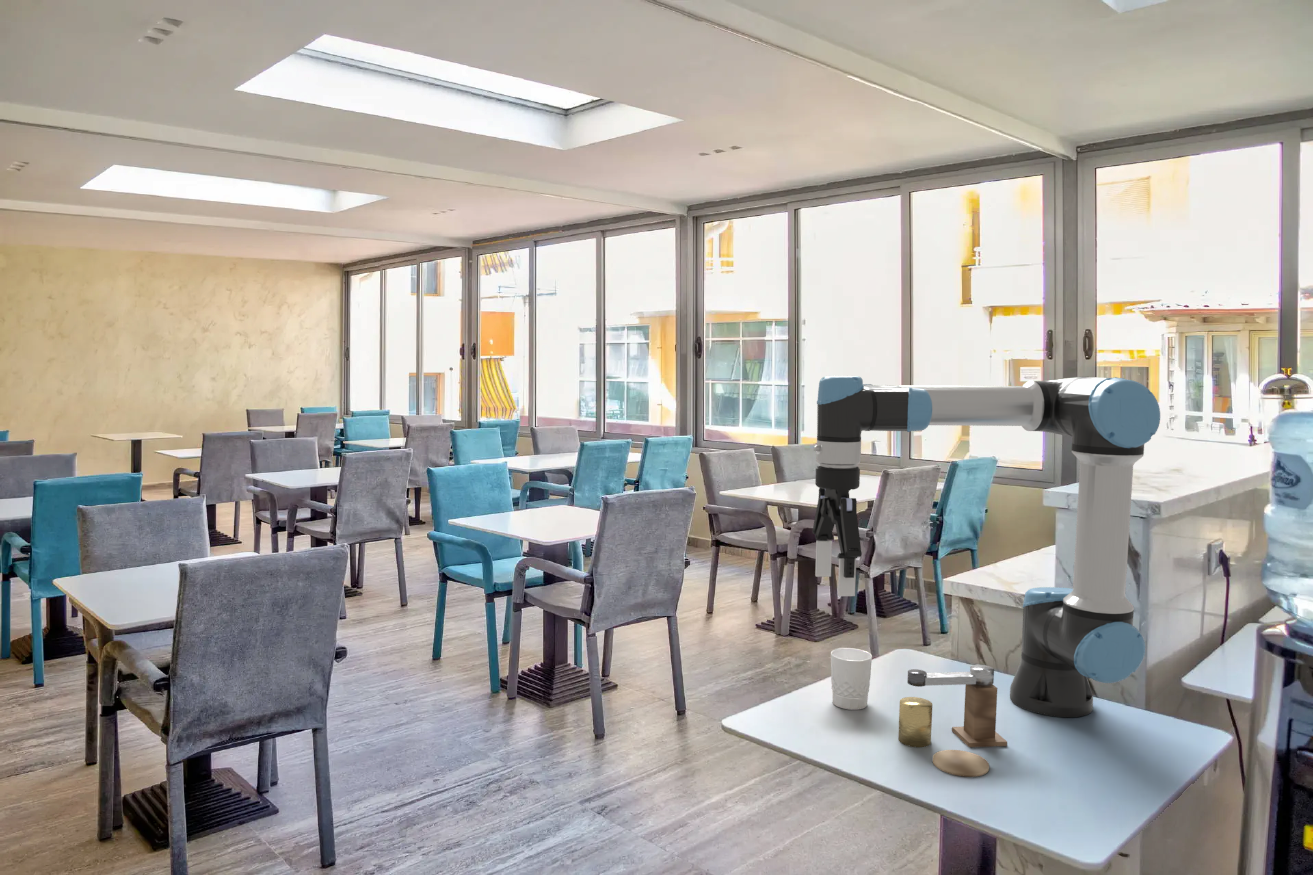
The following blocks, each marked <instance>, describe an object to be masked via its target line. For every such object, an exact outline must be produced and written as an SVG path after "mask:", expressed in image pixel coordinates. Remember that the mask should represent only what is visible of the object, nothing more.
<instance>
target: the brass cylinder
mask: <svg viewBox="0 0 1313 875" xmlns="http://www.w3.org/2000/svg"><path fill="white" fill-rule="evenodd" d="M898 712H899V713H898V736H897V737H898V742H899V743H900V744H902V745H904V746H907V747H911V748H915V749H916V748H917V749H918V748H919V749H920V748H926V747H929V746H930V745H932V730H933V729H932V728H933V726H932V725H933V724H932V722H933V702H932V701H930V700H928V699H926V698H922V697H918V696H917V697H915V696H906V697H903V698H901V699H899V710H898Z"/></svg>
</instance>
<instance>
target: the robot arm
mask: <svg viewBox="0 0 1313 875" xmlns="http://www.w3.org/2000/svg"><path fill="white" fill-rule="evenodd" d="M816 405H817V410H816V411H817V416H816V420H817V422H816V425H817V426H816V427H817V429H816V430H817V432H816V434H817V435H816V445H815V446H813V451H815V452H816V460H815V461H816V462H817V466H816V467H815V481H814V482H815V486H816V487H817V488H818V500H817V505H816V509H815V510H816V511H815V516H814V521H813V522H814V523H813V526H812V534H813V535H814V538H815V540H816V542H815V543H816V544H815V568H814V569H815V571H814V573H815V574H814V575H815V577H817V578H822V577H823V578H825V577H827V578H828V577H830V578H831V577H832V556H833V541H832V540H834V535H833V531H834V528H835V529H836V530H835V531H836V534H837V541H838V544H839V545H838V546H839V550H840V552H839V553H838V554H837V557H836V558H837V559H838V577H837V580H838V582H837V584H838V586H837V596H838V597H856V580H857V579H856V576H857V559H858V558H860V557H862V554H863V552H862V546H861V539H860V538H861V537H860V530H859V521H858V513H857V512H858V510H857V507H858V506H857V502H858V500H857V498H855V497H850V491H851V490H856V489H858V488H859V487H860V484H861V482H860V481H861V480H860V477H861V475H860V474H861V469H860V467H859V466H858V465H859V464H860V463H861V460H862V432H863V431H864V432H871V431H874V432H876V431H877V432H881V431H882V432H884V431H885V432H907V433H911V432H917V431H918V432H920V431H925V430H926V429H927V428H928V427H929V426H959V427H960V426H965V427H966V426H967V427H968V426H972V427H974V426H975V427H976V426H977V427H981V426H982V427H985V426H986V427H987V426H989V427H990V426H992V427H993V426H994V427H998V426H999V427H1000V426H1001V427H1013V426H1014V427H1022V428H1023V429H1024V430H1025V431H1027V432H1043V433H1044V432H1045V433H1050V434H1054V435H1055V434H1056V435H1062V436H1065V437H1070V438H1071V453H1072V454H1073V455H1074V456H1075V457H1076V459H1078V461H1079V475H1078V476H1079V477H1078V490H1077V491H1078V496H1077V508H1076V509H1077V511H1076V527H1075V528H1076V529H1075V530H1076V531H1075V545H1074V548H1075V549H1074V562H1073V563H1074V564H1073V577H1072V578H1073V579H1072V580H1073V581H1072V588H1069V587H1058V586H1056V587H1055V586H1052V587H1051V586H1049V587H1048V586H1043V587H1042V586H1041V587H1033V588H1029V589H1028V590H1027V591H1026V592H1025V594H1024V598H1023V604H1022V608H1023V610H1022V628H1021V630H1022V633H1021V634H1022V635H1021V636H1022V637H1021V655H1020V662H1019V665H1018V666H1017V670H1016V672H1015V674H1014V677H1013V679H1012V681H1011V684H1010V687H1009V699H1010V701H1011V702H1012V703H1013V704H1014V705H1016V706H1017V707H1019V708H1021V709H1023V710H1026V711H1029V712H1033V713H1035V714H1040V715H1043V716H1049V717H1057V718H1079V717H1084V716H1088V715H1089V714H1091V713H1092V711H1094V710H1093V708H1094V697H1093V693H1092V689H1091V686H1090V683H1089V679H1091V680H1094V681H1096V682H1099V683H1102V684H1115V683H1119V682H1122V681H1124V680H1126V679H1128V678H1130V676H1131V675H1132V673H1135V672H1136V671H1137V670H1138V669H1139V668H1140V666H1142V665H1141V664H1142V663H1143V661H1144V658H1145V654H1146V643H1145V639H1144V636H1143V635H1142V634H1141V632H1140V631H1139V630H1138V628H1137V627H1135V626H1134V612H1135V611H1134V610H1135V608H1134V605H1133V604H1132V602H1130V601H1129V600H1128V599H1127V598H1126V590H1127V571H1128V570H1127V569H1128V554H1129V540H1130V525H1131V523H1130V521H1131V511H1132V510H1131V507H1132V494H1133V493H1132V490H1133V476H1134V475H1133V474H1134V465H1135V463H1137V462H1138V461H1139V460H1140V459H1142V458H1143V457H1144V456H1145V455H1144V453H1145V444H1146V443H1148V442H1149V441H1151V439H1152V437H1153V436H1154V435H1156V433H1157V432H1158V429H1159V428H1160V427H1159V426H1160V424H1161V423H1160V422H1161V410H1160V409H1161V408H1160V405H1159V402H1158V399H1157V398H1156V396H1155V394H1154V393H1153V392H1151V390H1150V389H1149V388H1148V387H1147V386H1145V385H1144V384H1142V383H1141V382H1138V381H1135V380H1132V379H1127V378H1124V377H1117V376H1114V377H1100V376H1099V377H1098V376H1097V377H1095V376H1094V377H1093V376H1074V377H1065V378H1059V379H1050V380H1048V379H1047V380H1027V381H1025V382H1024V383H1023V384H1022V385H919V384H918V385H912V384H911V385H910V384H909V385H900V384H899V385H888V384H885V385H883V384H881V385H880V384H879V385H878V384H877V385H876V384H874V385H873V384H871V383H865V384H864V381H863V378H862V377H861V376H855V375H847V376H846V375H825V376H823V377H822V378H821V379H820V380H819V383H818V390H817V401H816Z"/></svg>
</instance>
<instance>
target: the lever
mask: <svg viewBox="0 0 1313 875" xmlns="http://www.w3.org/2000/svg"><path fill="white" fill-rule="evenodd" d="M969 667H970V669H969V671H953V672H951V671H950V672H949V671H947V672H945V671H944V672H926V671H925V670H922V669H917V668H915V669H911V668H910V669H909V670H907V684H908V685H910V686H912V687H916V688H917V687H920V688H922V687H926V686H952V685H953V686H958V685H959V686H961V685H966V684H977V685H985V686H987V685H992V684H993V685H994V680H995V679H994V676H995V668H993V667H992V666H989V665H986V664H972V665H970V666H969Z"/></svg>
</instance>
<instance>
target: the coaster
mask: <svg viewBox="0 0 1313 875" xmlns="http://www.w3.org/2000/svg"><path fill="white" fill-rule="evenodd" d="M932 764H933V765H934V766H935V767H936V769H938V770H940V771H942V772H944V773H946V774H949V775H953V776H957V777H964V778H975V777H982V776H984V775H986V774H988V772H989V770H990V762H989V761H988V760H987V759H986V758H984V757H982V756H981V755H979V754H976V753H973V752H971V751H966V750H960V749H944V750H940V751H936V752H935V753H934V754H933V755H932Z"/></svg>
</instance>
